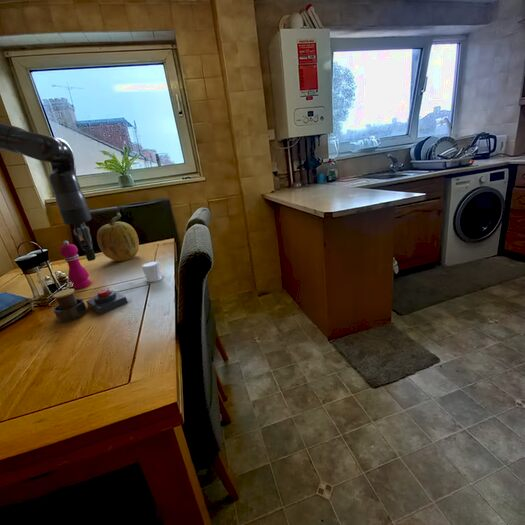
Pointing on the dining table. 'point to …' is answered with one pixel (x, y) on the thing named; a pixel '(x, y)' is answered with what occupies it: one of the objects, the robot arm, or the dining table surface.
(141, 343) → the dining table surface
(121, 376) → the dining table surface
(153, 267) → the white short cylinder
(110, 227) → the pumpkin
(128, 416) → the dining table surface
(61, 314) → the pod holder
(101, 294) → the brew button
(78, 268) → the pepper mill
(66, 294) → the coffee pod
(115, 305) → the panel
